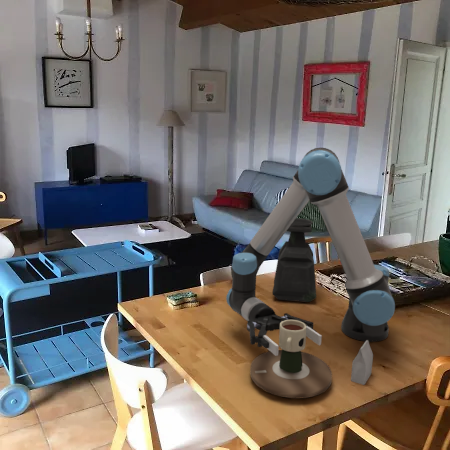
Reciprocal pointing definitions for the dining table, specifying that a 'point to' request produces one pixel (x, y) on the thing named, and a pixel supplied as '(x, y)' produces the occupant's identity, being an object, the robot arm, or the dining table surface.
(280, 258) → the dark grey tapered pedestal
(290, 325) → the character mug
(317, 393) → the turntable
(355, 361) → the grey gabled block
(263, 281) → the dining table surface
